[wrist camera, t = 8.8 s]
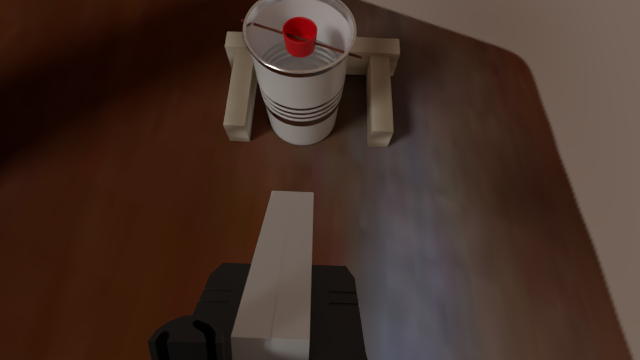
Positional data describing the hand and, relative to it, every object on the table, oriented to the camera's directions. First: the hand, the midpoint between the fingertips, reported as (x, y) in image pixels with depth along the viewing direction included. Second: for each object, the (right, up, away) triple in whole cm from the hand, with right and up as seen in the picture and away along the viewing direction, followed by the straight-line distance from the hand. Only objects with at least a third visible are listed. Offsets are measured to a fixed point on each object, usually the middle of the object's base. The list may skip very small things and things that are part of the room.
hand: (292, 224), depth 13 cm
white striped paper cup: (-1, +8, +24) cm, 25 cm away
